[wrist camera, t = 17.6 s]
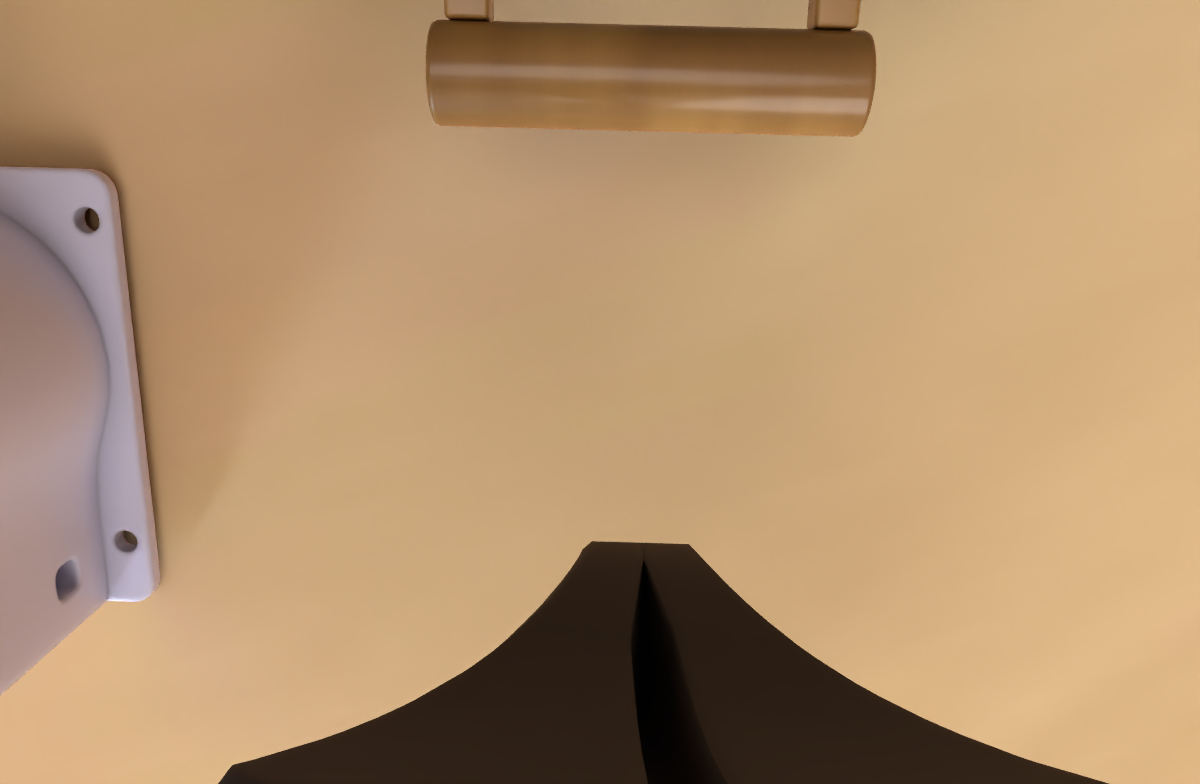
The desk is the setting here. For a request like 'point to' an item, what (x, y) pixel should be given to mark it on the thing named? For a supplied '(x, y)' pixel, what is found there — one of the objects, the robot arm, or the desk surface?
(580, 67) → the drawer
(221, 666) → the desk surface
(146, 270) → the desk surface
